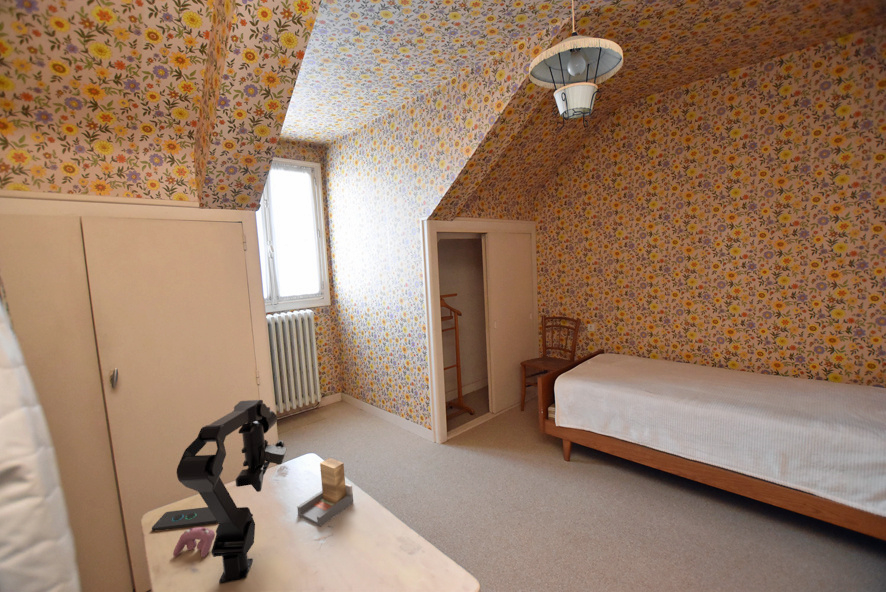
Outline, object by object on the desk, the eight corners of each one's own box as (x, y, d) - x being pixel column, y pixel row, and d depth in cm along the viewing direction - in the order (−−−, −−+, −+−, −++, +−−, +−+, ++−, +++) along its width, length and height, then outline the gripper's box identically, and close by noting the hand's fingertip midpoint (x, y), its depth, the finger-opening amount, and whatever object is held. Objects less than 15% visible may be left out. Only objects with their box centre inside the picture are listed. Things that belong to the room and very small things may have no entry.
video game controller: (214, 553, 112) (218, 526, 114) (203, 558, 107) (208, 529, 110) (182, 553, 112) (187, 526, 115) (170, 557, 108) (176, 529, 111)
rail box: (320, 526, 118) (318, 508, 118) (298, 515, 124) (296, 497, 124) (353, 502, 130) (352, 485, 129) (331, 493, 136) (330, 476, 135)
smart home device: (166, 511, 128) (229, 503, 131) (166, 516, 129) (230, 508, 131) (150, 528, 120) (218, 519, 122) (151, 533, 120) (218, 525, 123)
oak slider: (337, 504, 126) (334, 468, 125) (323, 498, 130) (320, 463, 129) (346, 498, 130) (343, 462, 128) (332, 492, 134) (329, 457, 132)
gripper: (275, 452, 108) (280, 505, 109) (288, 425, 126) (292, 470, 127) (232, 458, 105) (238, 512, 107) (251, 429, 124) (256, 476, 125)
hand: (259, 491), depth 117 cm, fingers closed
